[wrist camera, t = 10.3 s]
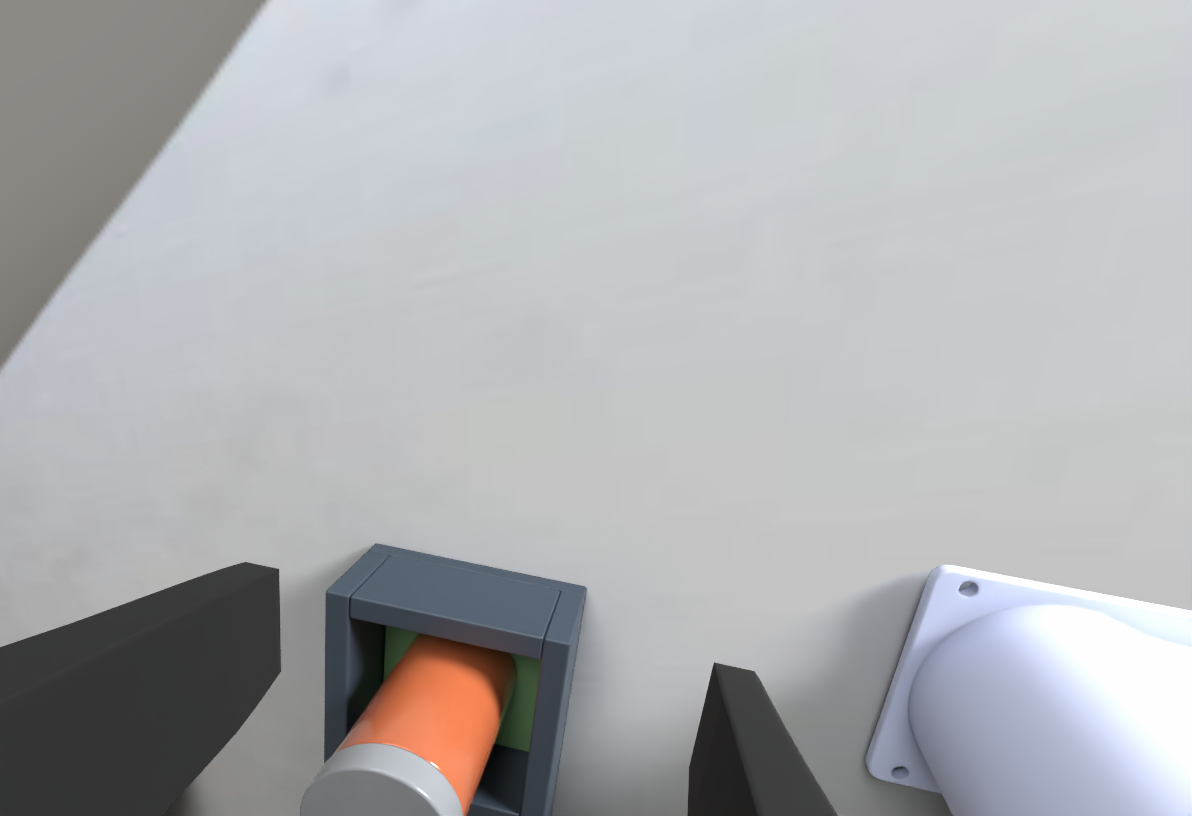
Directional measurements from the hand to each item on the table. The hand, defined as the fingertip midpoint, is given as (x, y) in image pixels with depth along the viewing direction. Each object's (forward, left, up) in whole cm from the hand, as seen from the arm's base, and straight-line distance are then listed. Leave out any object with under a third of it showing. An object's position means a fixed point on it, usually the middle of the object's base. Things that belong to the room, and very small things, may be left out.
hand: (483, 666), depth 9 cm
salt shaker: (+3, +8, -9) cm, 12 cm away
